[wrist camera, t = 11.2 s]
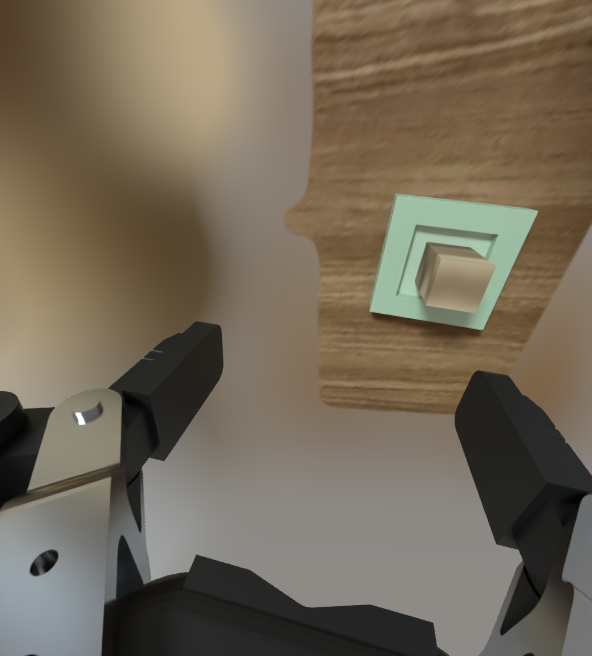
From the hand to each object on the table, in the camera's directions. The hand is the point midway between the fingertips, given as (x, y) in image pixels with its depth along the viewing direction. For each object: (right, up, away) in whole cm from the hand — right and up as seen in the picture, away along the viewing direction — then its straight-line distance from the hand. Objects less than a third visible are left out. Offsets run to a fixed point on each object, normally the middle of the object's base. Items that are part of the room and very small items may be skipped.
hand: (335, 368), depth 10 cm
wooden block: (+15, +8, +23) cm, 29 cm away
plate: (+15, +9, +24) cm, 30 cm away
